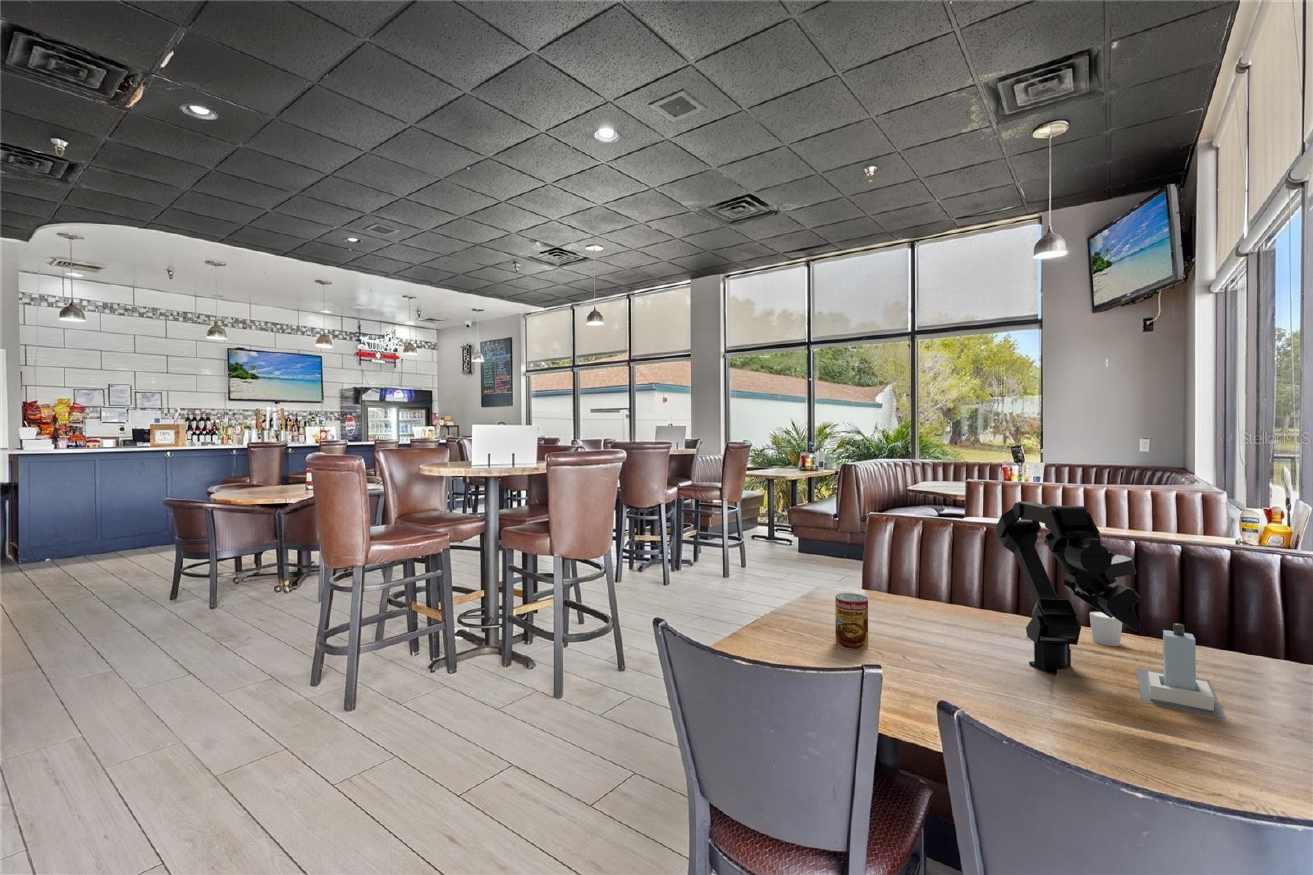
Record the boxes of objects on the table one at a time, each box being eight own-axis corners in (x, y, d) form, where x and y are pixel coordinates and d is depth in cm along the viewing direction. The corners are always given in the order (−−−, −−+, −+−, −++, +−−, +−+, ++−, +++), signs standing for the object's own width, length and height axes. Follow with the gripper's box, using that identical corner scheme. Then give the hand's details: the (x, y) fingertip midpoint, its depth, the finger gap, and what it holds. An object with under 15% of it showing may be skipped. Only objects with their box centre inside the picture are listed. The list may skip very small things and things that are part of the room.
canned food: (834, 647, 150) (833, 599, 150) (837, 638, 157) (836, 592, 157) (867, 651, 147) (867, 602, 147) (869, 641, 154) (868, 594, 154)
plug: (1165, 697, 117) (1165, 625, 117) (1163, 690, 120) (1162, 619, 121) (1195, 703, 114) (1195, 629, 114) (1192, 695, 118) (1192, 623, 118)
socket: (1150, 701, 116) (1150, 685, 116) (1148, 685, 124) (1147, 671, 124) (1213, 713, 111) (1213, 697, 111) (1207, 697, 118) (1206, 681, 118)
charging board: (1226, 724, 109) (1226, 718, 109) (1141, 707, 116) (1141, 701, 116) (1209, 685, 127) (1209, 680, 127) (1136, 672, 134) (1136, 667, 134)
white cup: (1129, 647, 150) (1128, 619, 150) (1097, 645, 151) (1097, 617, 151) (1114, 638, 156) (1113, 611, 156) (1084, 637, 158) (1084, 610, 158)
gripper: (1138, 549, 118) (1191, 616, 117) (1088, 533, 136) (1133, 590, 135) (1087, 580, 120) (1138, 646, 118) (1044, 560, 138) (1088, 617, 137)
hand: (1125, 623), depth 127 cm, fingers open, 9 cm apart
